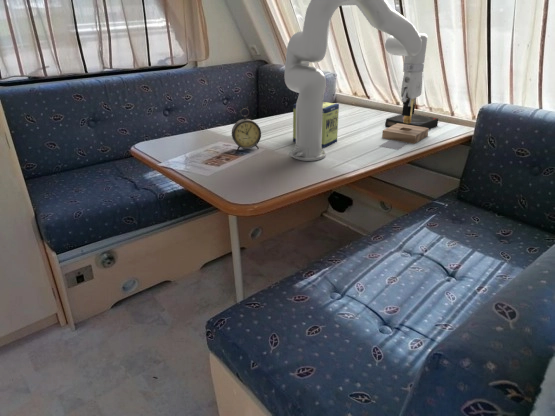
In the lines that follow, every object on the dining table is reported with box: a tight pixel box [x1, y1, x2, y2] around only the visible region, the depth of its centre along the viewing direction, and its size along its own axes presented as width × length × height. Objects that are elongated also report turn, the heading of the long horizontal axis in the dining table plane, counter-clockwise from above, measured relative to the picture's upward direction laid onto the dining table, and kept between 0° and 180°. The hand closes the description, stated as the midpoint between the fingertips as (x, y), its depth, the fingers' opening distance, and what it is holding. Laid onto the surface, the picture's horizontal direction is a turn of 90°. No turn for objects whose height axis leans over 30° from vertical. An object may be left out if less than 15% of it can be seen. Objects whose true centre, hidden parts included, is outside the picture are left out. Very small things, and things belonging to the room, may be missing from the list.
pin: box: [403, 97, 414, 124], centre depth 166 cm, size 3×3×12 cm
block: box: [381, 123, 430, 145], centre depth 171 cm, size 14×14×4 cm
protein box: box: [292, 101, 340, 149], centre depth 165 cm, size 10×16×16 cm
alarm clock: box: [231, 107, 262, 152], centre depth 158 cm, size 11×5×16 cm, turn 105°
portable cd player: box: [384, 113, 439, 130], centre depth 186 cm, size 16×17×4 cm
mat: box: [379, 139, 410, 151], centre depth 162 cm, size 10×8×1 cm
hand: (407, 114), depth 167 cm, fingers closed on pin, 3 cm apart
